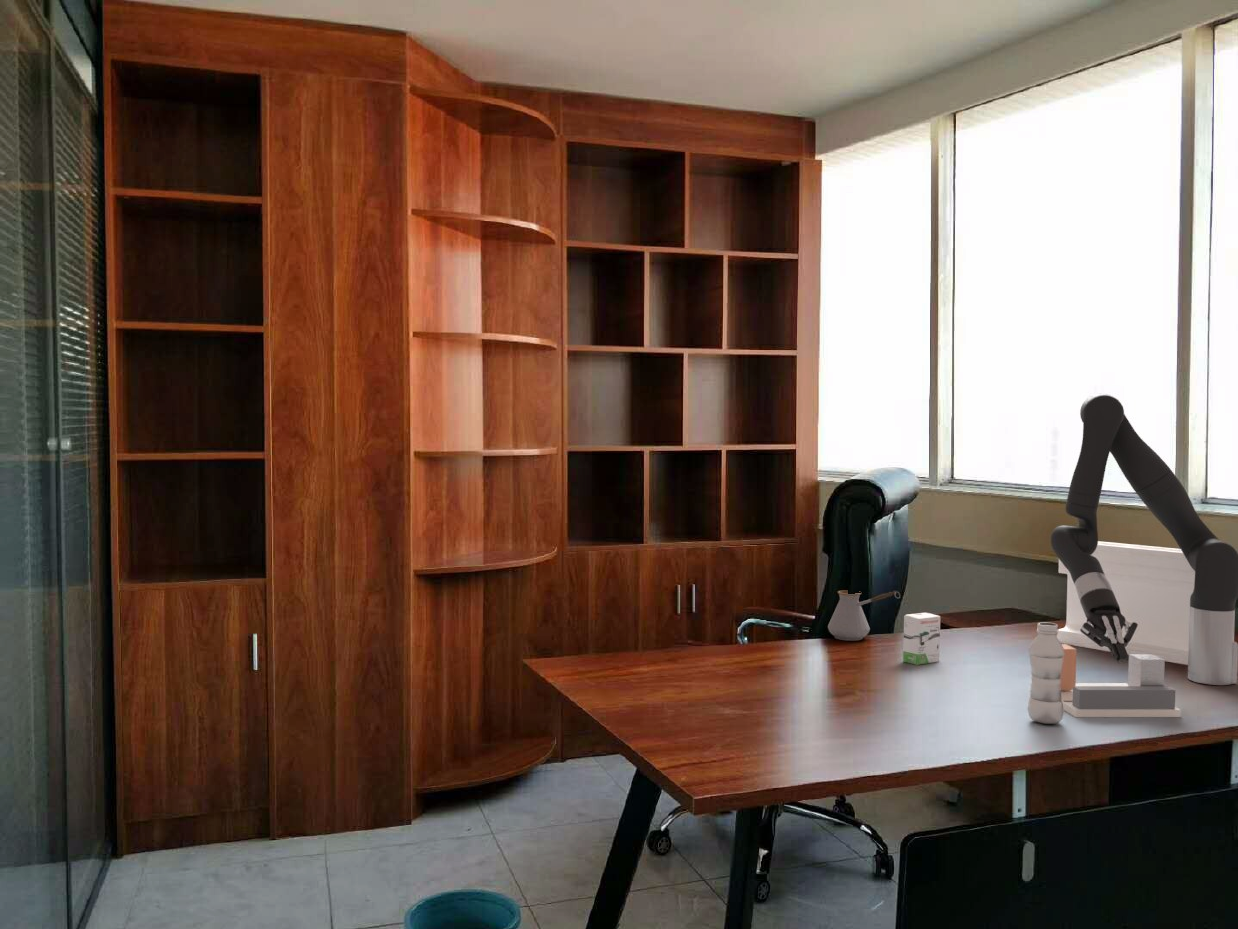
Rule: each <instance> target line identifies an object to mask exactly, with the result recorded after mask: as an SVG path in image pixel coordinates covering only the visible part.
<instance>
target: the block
mask: <svg viewBox="0 0 1238 929" xmlns="http://www.w3.org/2000/svg"><path fill="white" fill-rule="evenodd" d="M1091 555H1092V556H1094V557H1095V558H1097V559H1098V561H1099V563H1100V565H1101V567H1102V570H1103V572H1104V574H1105V577H1106V578H1107V580H1108V582H1109V583H1110V586H1111V588H1112V590H1113V593H1114V595H1115V598H1116V600H1117V602H1118V605H1119V607H1120V612H1121V614H1122V615H1123V616H1124V617H1125V620H1126V621H1128V622H1129V623H1131V624H1132V623H1133V622H1135V623H1137V625H1138V626H1137V628H1136V630H1135V632H1134V634H1133V636H1132V638H1131V640H1130V642H1129V643H1128V645H1127V646H1126V647H1125V649H1126V651H1127V654H1128V656H1129V654H1152V655H1155V656H1157V657H1159V658H1162V659H1164V660H1165V662H1168V663H1169V662H1170V663H1174V664H1179V665H1185V666H1188V651H1189V619H1190V596H1191V594H1192V593H1193V590H1194V582H1195V571H1194V570H1193V569H1192V567H1191V566H1190V564H1189V562H1188V561H1187V559H1186V557H1185V555H1184V554H1183V552H1182V550H1181V549H1180V548H1173V547H1162V546H1152V545H1151V546H1150V545H1143V544H1142V545H1141V544H1132V543H1131V544H1129V543H1122V542H1121V543H1120V542H1110V541H1099V540H1098V545H1097V548H1096V550H1095V551H1094V553H1093V554H1091ZM1058 573H1059V574H1065V575H1067V586H1066V587H1067V588H1066V589H1067V590H1066V620H1065V621H1066V622H1065V626H1063V628H1059V629H1058V628H1057V631H1058V634H1056V637H1057V639H1058V640H1059V641H1060V643H1061V644H1067V645H1069V646H1075V647H1081V648H1087V649H1094V650H1099V651H1103V652H1109V653H1111V652H1110V649H1108V647H1105V646H1103V647H1100V646H1099V645H1098V644H1096V643H1095V642H1094V641H1092V640H1091V639H1090V638H1088V637H1087V636H1086V635H1085V634H1083V633H1082V632H1081V631H1080V629H1081V628H1082V626H1083V624H1084V623H1087V618H1086V616H1085V613H1084V611H1083V608H1082V606H1081V603H1080V601H1079V598H1078V595H1077V592H1076V588H1075V585H1074V582H1073V580H1072V577H1071V574H1070V572H1069V571H1068V569H1067V568H1066V567H1065V566H1064V565H1063V563H1062V562H1061V561H1060V559H1059V558H1058ZM1126 633H1127V632H1125V627H1124V626H1123V628H1122V637H1123V638H1124V637H1125V635H1126ZM1097 638H1098V637H1097ZM1100 640H1101V639H1100Z"/></svg>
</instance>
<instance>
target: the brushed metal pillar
mask: <svg viewBox="0 0 1238 929" xmlns="http://www.w3.org/2000/svg"><path fill="white" fill-rule="evenodd" d="M1165 662H1166V661H1165V660H1164V659H1162V658H1159V657H1157V656H1155V655H1152V654H1129V655H1128V669H1127V670H1128V673H1127V674H1128V678H1127V680H1128V681H1127V684H1128V686H1165V666H1166V665H1165V664H1166V663H1165Z"/></svg>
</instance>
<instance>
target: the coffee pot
mask: <svg viewBox="0 0 1238 929" xmlns="http://www.w3.org/2000/svg"><path fill="white" fill-rule="evenodd" d="M837 594H838V596H839V599H838V603H837V604H836V607H835V609H834V612H833V613H832V615H831V619H829V620H830V621H829V623H828V625H827V629H828V632H829V633H830V634H831V635H832V636H834V638H835V639H837V640H840V641H841V640H842V641H852V642H853V641H860V640H861V641H862V640H863V638H865V637H866V636H867V635H868V634H869V632H870V630H871V628H870V626H869V623H868V620H867V617H866V615H865V613H864V609H863V607H862V606H863V605H865V604H869V603H871V602H877V601H880V600H885V599H887V598H888V597H892V596H893V595H894V597H895V598H896V599H900V598H901V594H900V592H899V591H897V590H893V591H892V592H891V591H888V592H887V593H882V594H879V595H876V596H875V597H871V598H869V599H867V600H863V601H860V600H859V599H860V595H862V592H861V593H855V594H848V589H847V590H838V591H837ZM896 594H898V596H899V597H897V596H896Z"/></svg>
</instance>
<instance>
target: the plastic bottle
mask: <svg viewBox="0 0 1238 929" xmlns="http://www.w3.org/2000/svg"><path fill="white" fill-rule="evenodd" d="M1058 627H1059V626H1058V624H1057V623H1053V622H1044V621H1043V622H1038V623H1037V627H1036V628H1037V629H1036V633H1037V636H1036V637H1035V638H1034V639H1033V640H1032V642H1031V643H1030V645H1029V647H1028V653H1029V660H1030V668H1031V670H1030V672H1031V683H1032V684H1031V683H1030V689H1031V690H1030V696H1029V699H1028V700H1029V701H1028V704H1027V705H1028V706H1027V712H1028V716H1029V718H1030V719H1031V720H1032V721H1033V722H1036V723H1040V724H1046V725H1052V724H1053V725H1054V724H1059V723H1061V722H1062V720H1063V718H1064V717H1063V716H1064V712H1065V711H1064V710H1063V703H1062V701H1061V700H1062V698H1061V679H1060V678H1061V670H1062V664H1063V658H1064V649H1063V646H1062V645H1061V644H1062V643H1060V641H1059V640H1058V639H1057V634H1058V631H1057V630H1058Z"/></svg>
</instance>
